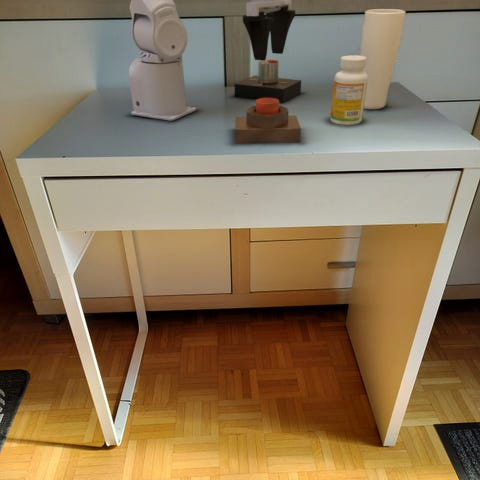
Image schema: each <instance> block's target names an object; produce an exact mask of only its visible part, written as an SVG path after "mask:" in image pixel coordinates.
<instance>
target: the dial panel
mask: <svg viewBox="0 0 480 480" xmlns="http://www.w3.org/2000/svg"><path fill="white" fill-rule="evenodd" d="M301 91H302V79H293V78H282V77H278V82H277V83H273V84H263V83H259V82H258V75H252V76H250V77H248V78H245V79H243V80H240V81H237V82H236V83H234V97H235V98H240V99H247V100H248V99H249V100H255V101H256V100H257V99H260V98H275V99H278V100H279V104H280V103H281V104H284V103H286V102H287V101H290V100H291V99H293V98H295V97H296V96H299V95H300V94H301Z"/></svg>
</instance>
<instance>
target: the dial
mask: <svg viewBox="0 0 480 480" xmlns="http://www.w3.org/2000/svg"><path fill="white" fill-rule="evenodd" d="M257 62H258V69H257V71H258V73H257V76H258V82H259V83H263V84H273V83H277V82H278V78H279V65H280V64H279V60H278V59H266V60H264V61H263V60H258V61H257Z"/></svg>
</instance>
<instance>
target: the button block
mask: <svg viewBox="0 0 480 480" xmlns="http://www.w3.org/2000/svg"><path fill="white" fill-rule="evenodd" d="M234 123H235V125H234V127H235V129H234V131H235V132H234V134H235V144H236V145H245V144H246V145H247V144H248V145H249V144H250V145H251V144H295V143H296V144H299V143H301V134H302V128H301V125H300V121H299V119H298V116H297V115H289V108H288V107H286V106H283V105H280V104H279V112H278V113H272V114H262V113H257V112H256V105H251V106H249V107H248V108H246V109H245V116H235V121H234Z"/></svg>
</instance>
